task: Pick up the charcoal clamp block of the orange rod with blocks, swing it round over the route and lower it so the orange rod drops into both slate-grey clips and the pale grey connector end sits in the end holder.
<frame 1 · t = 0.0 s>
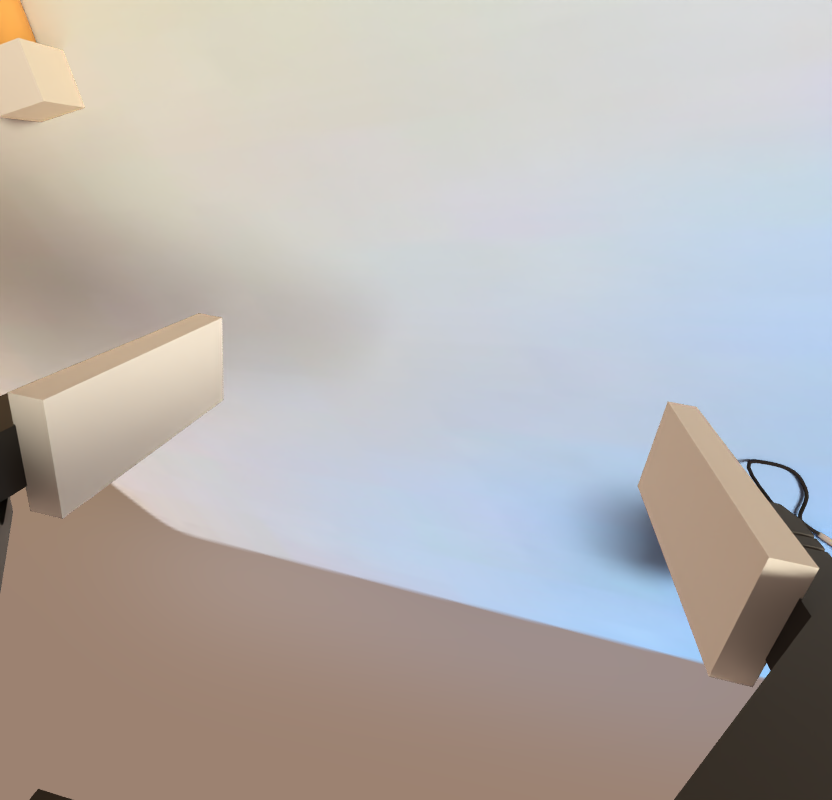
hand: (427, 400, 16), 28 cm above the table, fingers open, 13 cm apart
multimeter: (795, 532, 45), on the table
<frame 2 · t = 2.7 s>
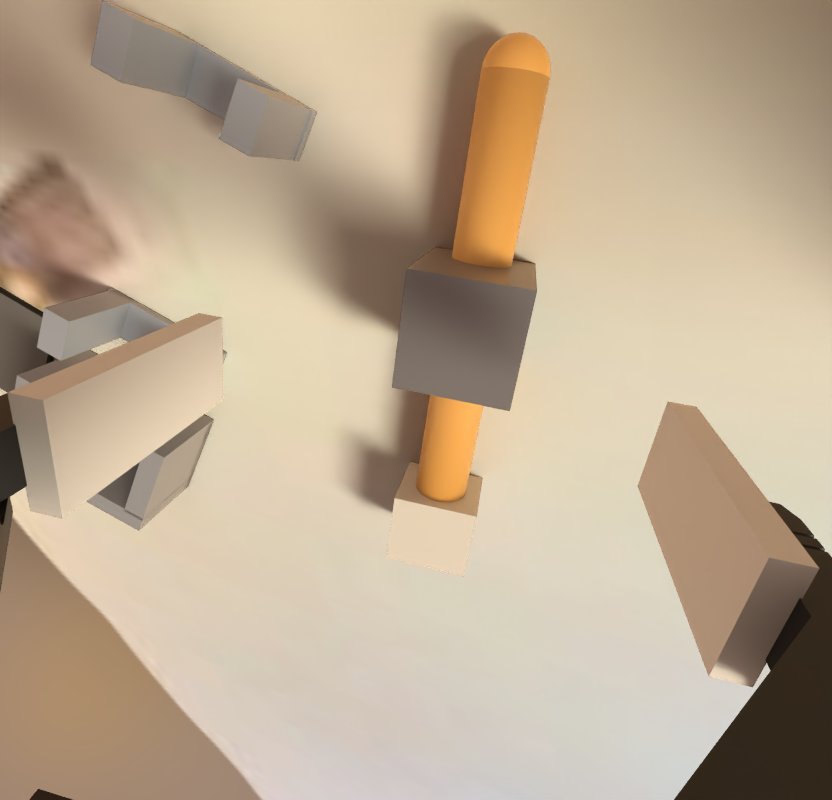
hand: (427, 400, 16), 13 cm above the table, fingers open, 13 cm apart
end holder: (144, 403, 34), on the table
clip a: (239, 97, 26), on the table
orange rod with blocks: (475, 304, 28), on the table
clip b: (165, 337, 32), on the table
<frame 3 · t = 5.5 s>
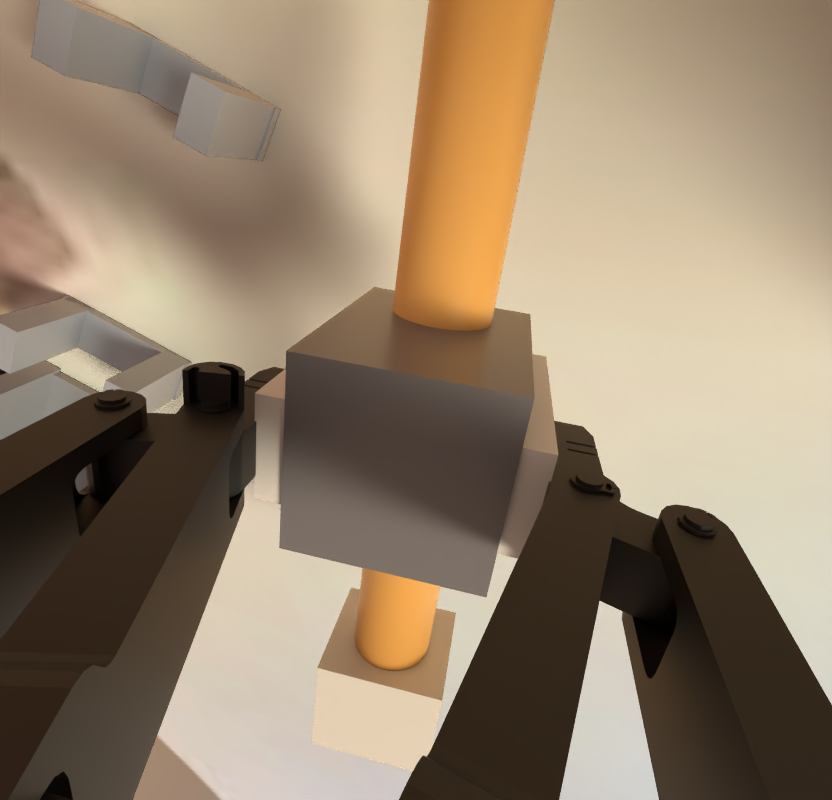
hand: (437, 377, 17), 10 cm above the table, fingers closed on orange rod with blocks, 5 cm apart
end holder: (105, 415, 32), on the table
clip a: (197, 93, 24), on the table
orange rod with blocks: (439, 373, 18), point 9 cm above the table, touching gripper
clip b: (125, 347, 30), on the table
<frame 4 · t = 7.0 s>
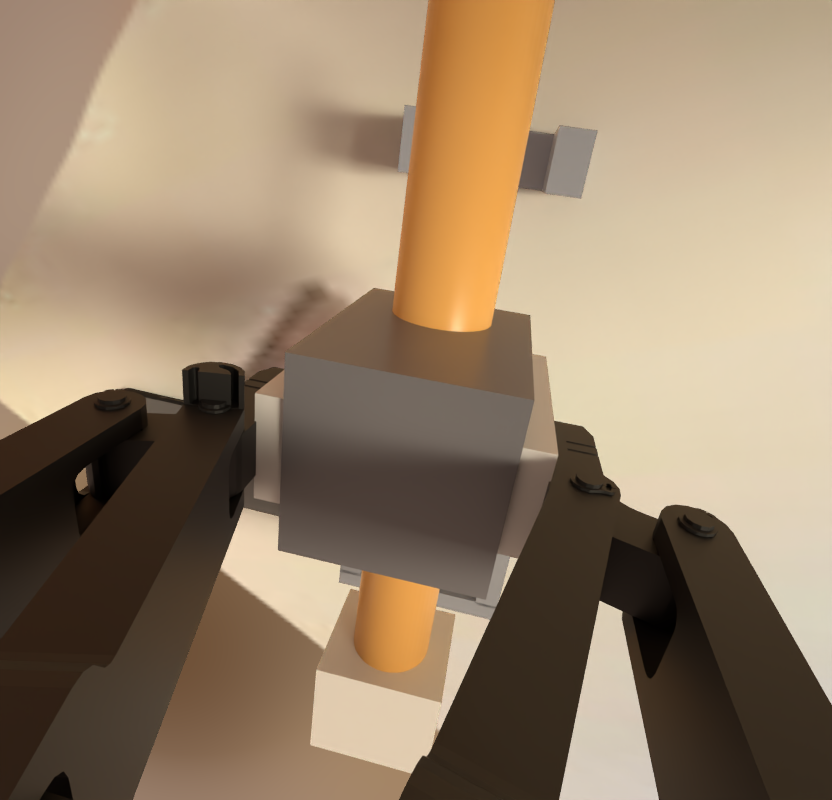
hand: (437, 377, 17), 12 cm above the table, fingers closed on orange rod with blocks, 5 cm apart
end holder: (439, 490, 33), on the table
clip a: (499, 156, 25), on the table
orange rod with blocks: (438, 374, 18), point 12 cm above the table, touching gripper
smartphone: (233, 453, 36), on the table
when the fingers open (1 cm above the table, at t = 9.0 s): orange rod with blocks stays where it is, resting on clip a, end holder.
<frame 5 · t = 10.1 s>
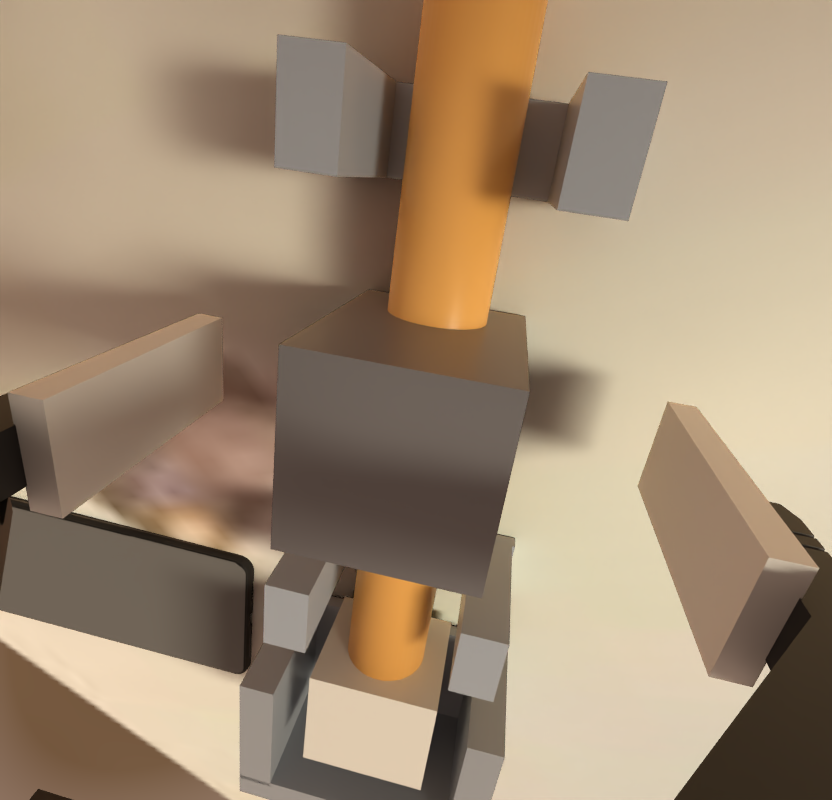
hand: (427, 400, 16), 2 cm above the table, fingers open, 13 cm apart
end holder: (395, 635, 23), on the table
clip a: (474, 143, 15), on the table
orange rod with blocks: (434, 376, 18), resting on clip a, end holder
clip b: (410, 541, 21), on the table
smartphone: (108, 568, 25), on the table
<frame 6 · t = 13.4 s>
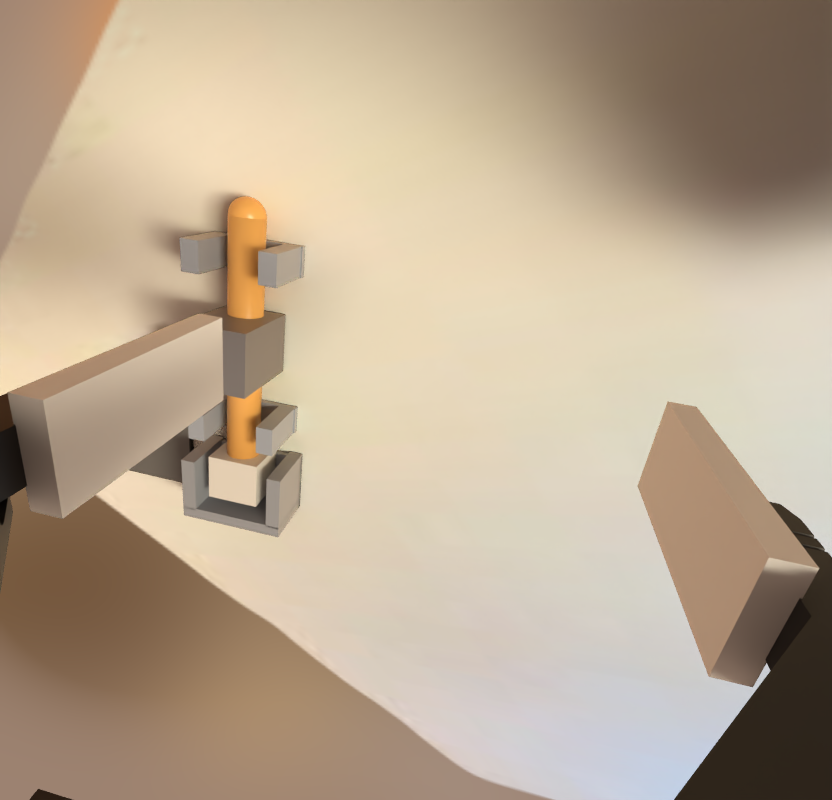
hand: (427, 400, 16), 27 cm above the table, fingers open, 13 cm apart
end holder: (256, 457, 50), on the table
clip a: (259, 254, 43), on the table
orange rod with blocks: (256, 338, 46), resting on clip a, end holder
clip b: (257, 410, 48), on the table
smartphone: (127, 434, 53), on the table
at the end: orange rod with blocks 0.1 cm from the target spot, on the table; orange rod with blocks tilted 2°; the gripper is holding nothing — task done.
